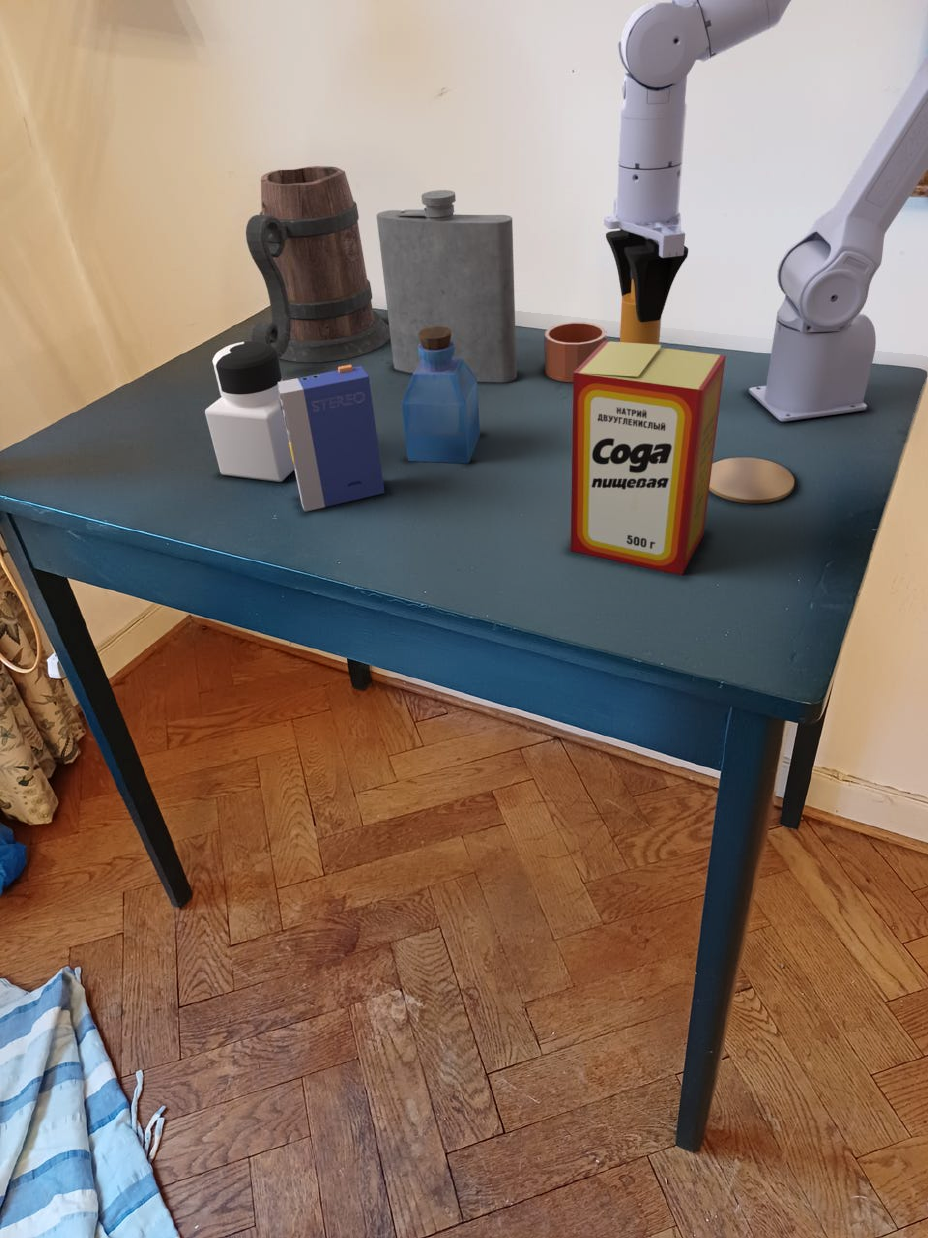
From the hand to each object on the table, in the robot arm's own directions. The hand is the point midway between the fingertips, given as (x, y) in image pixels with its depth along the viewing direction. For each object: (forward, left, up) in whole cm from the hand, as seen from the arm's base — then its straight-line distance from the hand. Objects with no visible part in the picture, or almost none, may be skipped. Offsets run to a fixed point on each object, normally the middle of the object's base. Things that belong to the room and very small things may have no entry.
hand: (641, 312), depth 89 cm
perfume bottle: (+21, +3, -11) cm, 24 cm away
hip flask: (+17, -16, -10) cm, 26 cm away
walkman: (+32, +10, -11) cm, 35 cm away
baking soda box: (+8, +25, -10) cm, 28 cm away
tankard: (+33, -31, -10) cm, 46 cm away
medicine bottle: (+39, +1, -11) cm, 41 cm away
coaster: (-5, +18, -10) cm, 21 cm away
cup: (+3, -12, -10) cm, 16 cm away
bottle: (0, 0, -4) cm, 4 cm away
